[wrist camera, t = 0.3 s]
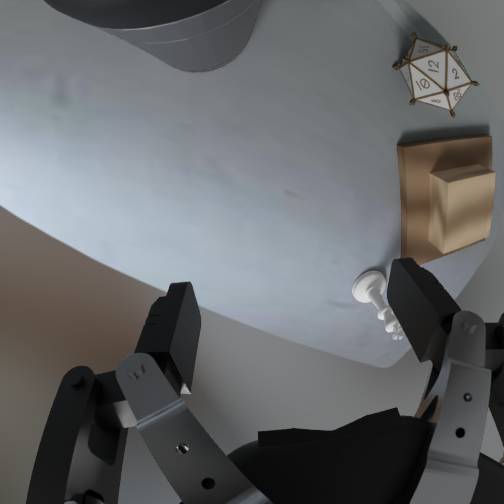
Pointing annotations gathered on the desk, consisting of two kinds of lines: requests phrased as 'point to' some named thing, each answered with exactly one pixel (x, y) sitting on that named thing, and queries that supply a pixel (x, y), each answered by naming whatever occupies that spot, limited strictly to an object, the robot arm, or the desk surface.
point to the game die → (434, 74)
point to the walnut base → (420, 185)
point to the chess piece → (376, 299)
